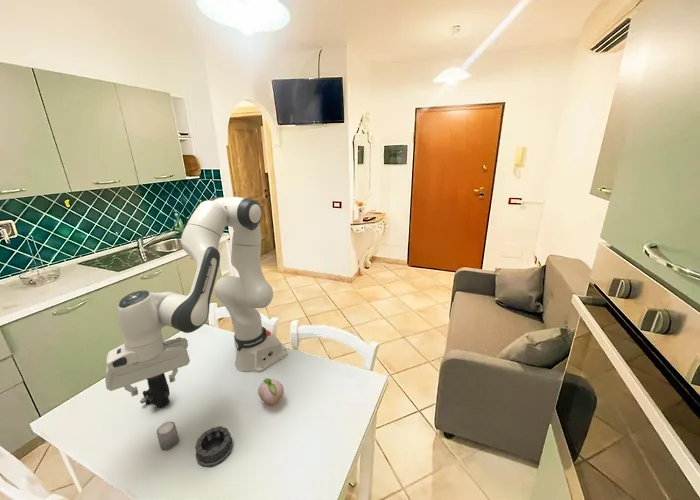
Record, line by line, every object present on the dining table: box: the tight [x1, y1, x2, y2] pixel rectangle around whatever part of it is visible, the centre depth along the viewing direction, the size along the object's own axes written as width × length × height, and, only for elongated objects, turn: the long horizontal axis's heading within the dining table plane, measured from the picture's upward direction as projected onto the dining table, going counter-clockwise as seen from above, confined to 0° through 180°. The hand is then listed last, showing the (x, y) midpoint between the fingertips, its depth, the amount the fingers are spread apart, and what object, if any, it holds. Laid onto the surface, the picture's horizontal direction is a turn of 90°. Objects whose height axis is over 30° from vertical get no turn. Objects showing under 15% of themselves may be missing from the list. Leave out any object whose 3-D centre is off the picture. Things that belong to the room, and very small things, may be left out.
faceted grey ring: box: [194, 425, 234, 468], centre depth 90 cm, size 10×10×4 cm
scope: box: [139, 373, 171, 410], centre depth 106 cm, size 8×14×10 cm
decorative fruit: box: [257, 377, 285, 406], centre depth 106 cm, size 9×8×10 cm
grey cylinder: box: [156, 421, 180, 451], centre depth 92 cm, size 5×5×6 cm
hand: (154, 387), depth 88 cm, fingers open, 8 cm apart
